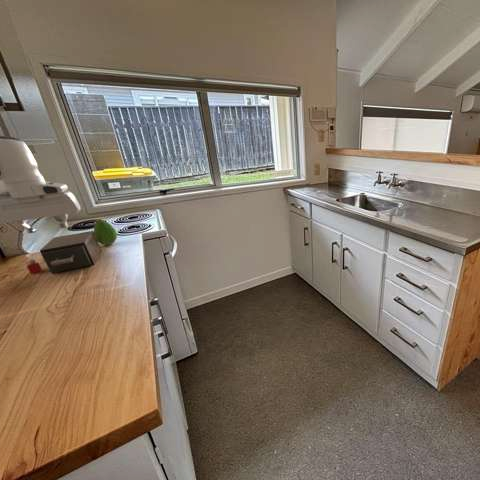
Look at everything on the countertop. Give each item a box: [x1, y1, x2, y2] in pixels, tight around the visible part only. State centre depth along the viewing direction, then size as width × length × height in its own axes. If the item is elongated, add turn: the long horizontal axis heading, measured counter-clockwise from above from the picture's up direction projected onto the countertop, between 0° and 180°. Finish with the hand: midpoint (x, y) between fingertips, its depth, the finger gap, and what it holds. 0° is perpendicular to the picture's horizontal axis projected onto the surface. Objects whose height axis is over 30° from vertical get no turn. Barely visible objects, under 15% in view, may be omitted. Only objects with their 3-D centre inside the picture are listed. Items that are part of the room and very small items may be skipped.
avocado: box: [93, 219, 118, 246], centre depth 117 cm, size 8×8×12 cm
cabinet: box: [39, 230, 103, 274], centre depth 101 cm, size 15×13×10 cm
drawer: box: [40, 245, 92, 274], centre depth 98 cm, size 18×11×8 cm, turn 29°
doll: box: [26, 258, 43, 275], centre depth 95 cm, size 3×2×6 cm
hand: (49, 229), depth 88 cm, fingers open, 7 cm apart
